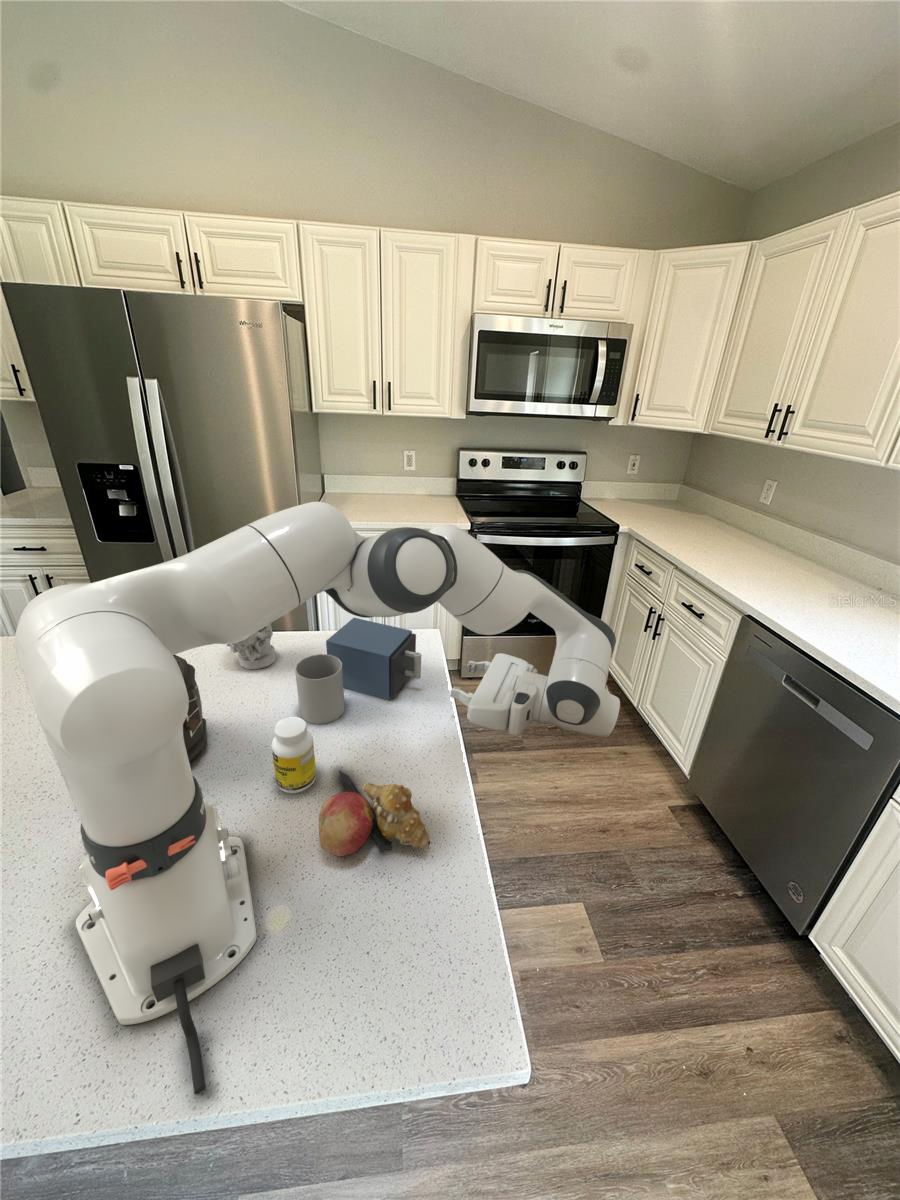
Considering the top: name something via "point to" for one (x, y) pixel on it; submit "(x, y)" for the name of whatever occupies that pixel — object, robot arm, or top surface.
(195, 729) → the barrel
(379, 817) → the seashell
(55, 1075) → the top surface
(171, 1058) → the top surface
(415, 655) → the drawer with handle
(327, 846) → the fruit
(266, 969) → the top surface
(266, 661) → the bust
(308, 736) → the pill bottle
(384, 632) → the blue cabinet
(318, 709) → the cup
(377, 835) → the knife
